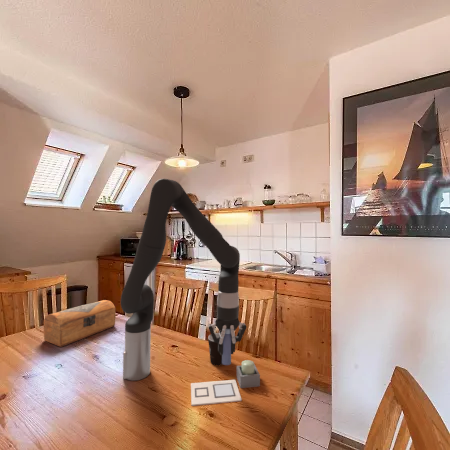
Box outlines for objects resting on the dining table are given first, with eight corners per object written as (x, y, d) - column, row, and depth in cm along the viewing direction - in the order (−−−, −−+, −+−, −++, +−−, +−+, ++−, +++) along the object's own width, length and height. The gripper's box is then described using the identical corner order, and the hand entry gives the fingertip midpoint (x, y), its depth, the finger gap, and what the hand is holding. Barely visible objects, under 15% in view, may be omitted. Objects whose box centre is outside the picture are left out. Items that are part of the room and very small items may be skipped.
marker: (222, 365, 86) (223, 329, 87) (220, 360, 89) (221, 326, 90) (232, 365, 86) (232, 329, 87) (230, 360, 90) (231, 325, 90)
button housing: (240, 388, 88) (240, 376, 88) (236, 376, 95) (236, 365, 95) (259, 386, 89) (259, 375, 89) (254, 375, 96) (254, 364, 96)
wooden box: (60, 348, 116) (61, 318, 117) (42, 340, 125) (43, 311, 125) (117, 326, 142) (117, 301, 143) (99, 321, 151) (99, 297, 151)
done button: (243, 380, 90) (243, 367, 90) (240, 372, 94) (240, 360, 94) (255, 379, 90) (255, 366, 90) (252, 371, 95) (252, 359, 95)
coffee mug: (226, 368, 101) (226, 342, 101) (205, 365, 102) (205, 340, 103) (231, 354, 112) (231, 331, 112) (212, 352, 114) (212, 329, 114)
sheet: (191, 405, 79) (191, 404, 79) (190, 384, 90) (190, 382, 90) (241, 401, 82) (241, 399, 82) (235, 380, 93) (235, 379, 93)
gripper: (208, 307, 84) (207, 360, 83) (250, 306, 86) (248, 357, 86) (206, 300, 91) (205, 349, 91) (245, 300, 93) (243, 347, 93)
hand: (226, 353), depth 88 cm, fingers closed on marker, 3 cm apart
